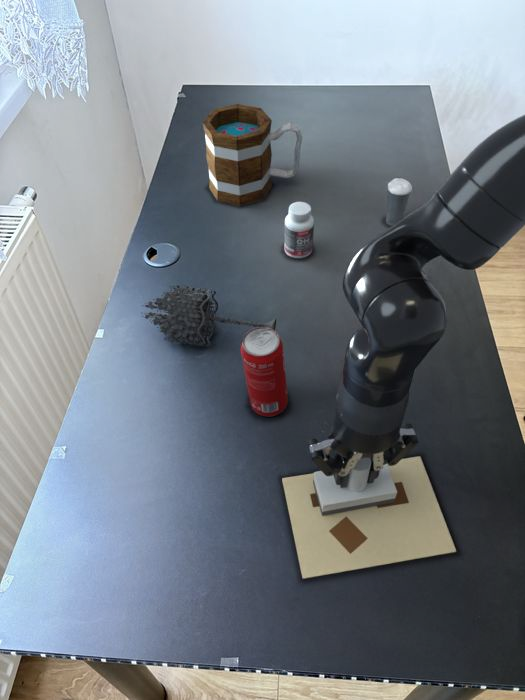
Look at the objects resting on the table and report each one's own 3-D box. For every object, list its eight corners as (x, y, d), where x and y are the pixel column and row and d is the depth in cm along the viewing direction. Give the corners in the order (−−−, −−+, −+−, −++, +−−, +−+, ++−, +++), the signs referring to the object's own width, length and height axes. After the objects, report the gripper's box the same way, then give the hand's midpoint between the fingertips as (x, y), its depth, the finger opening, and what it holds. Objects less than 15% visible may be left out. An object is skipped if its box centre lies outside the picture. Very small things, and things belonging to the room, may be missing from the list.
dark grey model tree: (269, 367, 96) (268, 328, 89) (139, 349, 99) (128, 310, 92) (279, 325, 102) (279, 285, 95) (156, 309, 105) (147, 269, 98)
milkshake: (375, 216, 120) (381, 173, 113) (400, 212, 121) (408, 169, 113) (382, 230, 117) (389, 187, 110) (408, 226, 118) (417, 183, 110)
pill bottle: (299, 263, 112) (301, 221, 104) (278, 250, 114) (278, 208, 107) (318, 249, 114) (321, 207, 107) (296, 237, 117) (298, 195, 109)
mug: (207, 207, 123) (200, 140, 112) (210, 169, 132) (203, 104, 121) (302, 204, 123) (305, 138, 112) (298, 167, 132) (300, 102, 120)
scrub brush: (382, 470, 83) (391, 437, 77) (394, 502, 80) (404, 471, 74) (312, 482, 82) (315, 450, 76) (321, 516, 79) (325, 485, 73)
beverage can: (294, 408, 91) (296, 344, 79) (257, 426, 89) (254, 363, 77) (274, 381, 94) (274, 316, 83) (238, 398, 92) (232, 334, 81)
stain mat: (419, 456, 85) (420, 456, 85) (456, 552, 76) (456, 551, 76) (281, 478, 83) (282, 478, 83) (302, 579, 74) (302, 578, 74)
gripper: (316, 443, 63) (309, 514, 76) (444, 423, 64) (415, 496, 77) (301, 387, 67) (297, 463, 81) (420, 369, 69) (397, 446, 82)
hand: (355, 478), depth 79 cm, fingers closed on scrub brush, 3 cm apart
